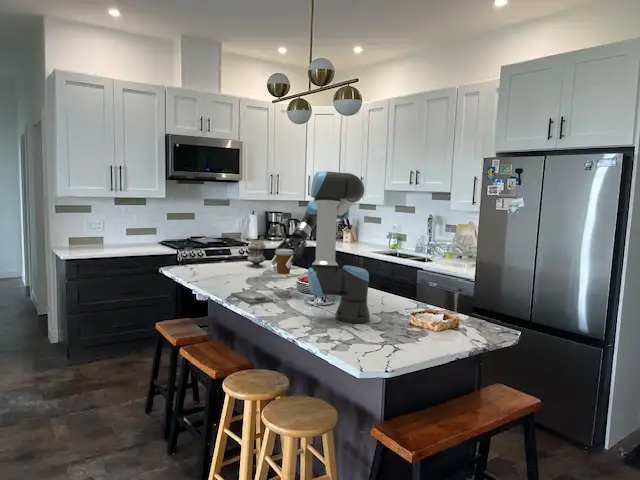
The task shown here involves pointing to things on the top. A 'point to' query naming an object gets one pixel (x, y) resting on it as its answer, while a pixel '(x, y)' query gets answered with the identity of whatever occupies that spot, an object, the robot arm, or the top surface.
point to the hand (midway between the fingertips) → (279, 265)
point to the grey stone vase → (256, 253)
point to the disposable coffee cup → (283, 260)
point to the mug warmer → (252, 297)
